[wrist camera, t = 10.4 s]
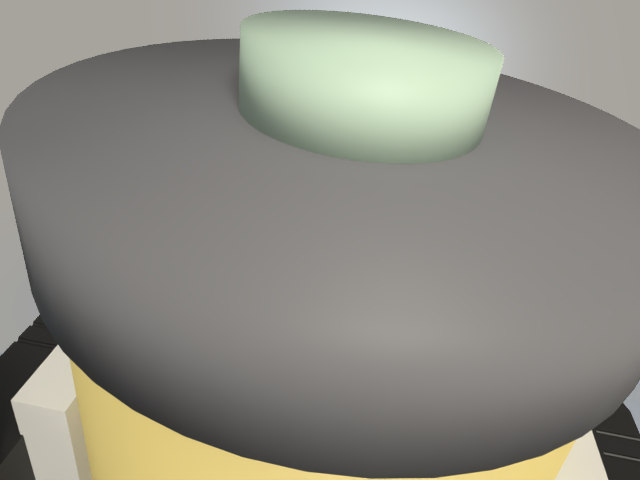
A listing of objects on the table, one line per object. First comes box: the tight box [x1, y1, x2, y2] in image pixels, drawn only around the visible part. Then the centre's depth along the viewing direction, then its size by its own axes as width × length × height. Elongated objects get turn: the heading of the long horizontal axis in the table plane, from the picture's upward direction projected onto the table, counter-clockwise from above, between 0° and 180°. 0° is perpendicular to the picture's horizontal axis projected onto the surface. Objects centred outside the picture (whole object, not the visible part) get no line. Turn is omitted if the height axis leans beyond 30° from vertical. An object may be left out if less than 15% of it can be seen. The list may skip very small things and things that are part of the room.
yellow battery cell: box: [0, 10, 640, 480], centre depth 9 cm, size 7×7×13 cm
